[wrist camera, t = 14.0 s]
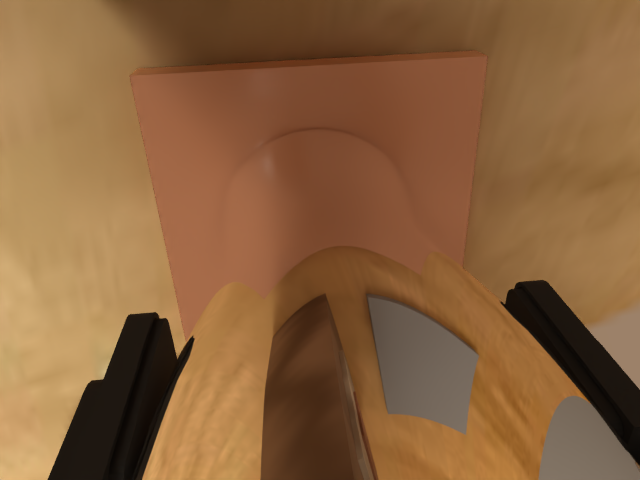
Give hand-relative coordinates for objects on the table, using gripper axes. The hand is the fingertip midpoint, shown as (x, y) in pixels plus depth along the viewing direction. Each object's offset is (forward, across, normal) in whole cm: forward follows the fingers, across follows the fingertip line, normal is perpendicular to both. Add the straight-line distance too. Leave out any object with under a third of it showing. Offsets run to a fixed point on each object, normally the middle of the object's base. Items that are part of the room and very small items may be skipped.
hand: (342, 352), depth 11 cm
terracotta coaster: (+7, 0, 0) cm, 7 cm away
